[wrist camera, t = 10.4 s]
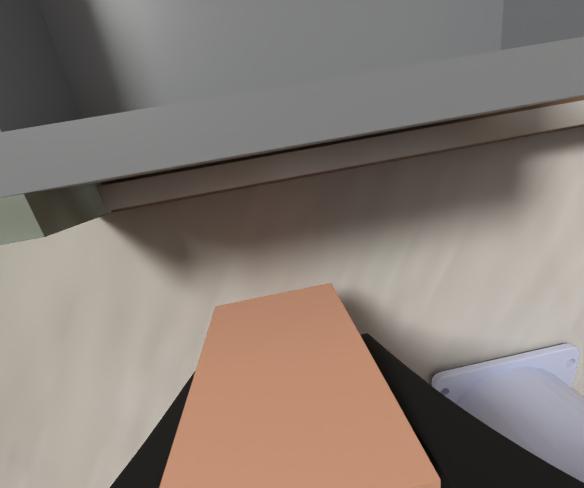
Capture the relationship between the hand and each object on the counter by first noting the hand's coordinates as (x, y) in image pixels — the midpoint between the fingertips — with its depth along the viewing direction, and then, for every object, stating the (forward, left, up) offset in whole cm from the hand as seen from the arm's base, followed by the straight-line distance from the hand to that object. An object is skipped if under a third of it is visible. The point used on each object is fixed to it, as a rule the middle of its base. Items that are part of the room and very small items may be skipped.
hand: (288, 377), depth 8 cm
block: (0, 0, -2) cm, 2 cm away
